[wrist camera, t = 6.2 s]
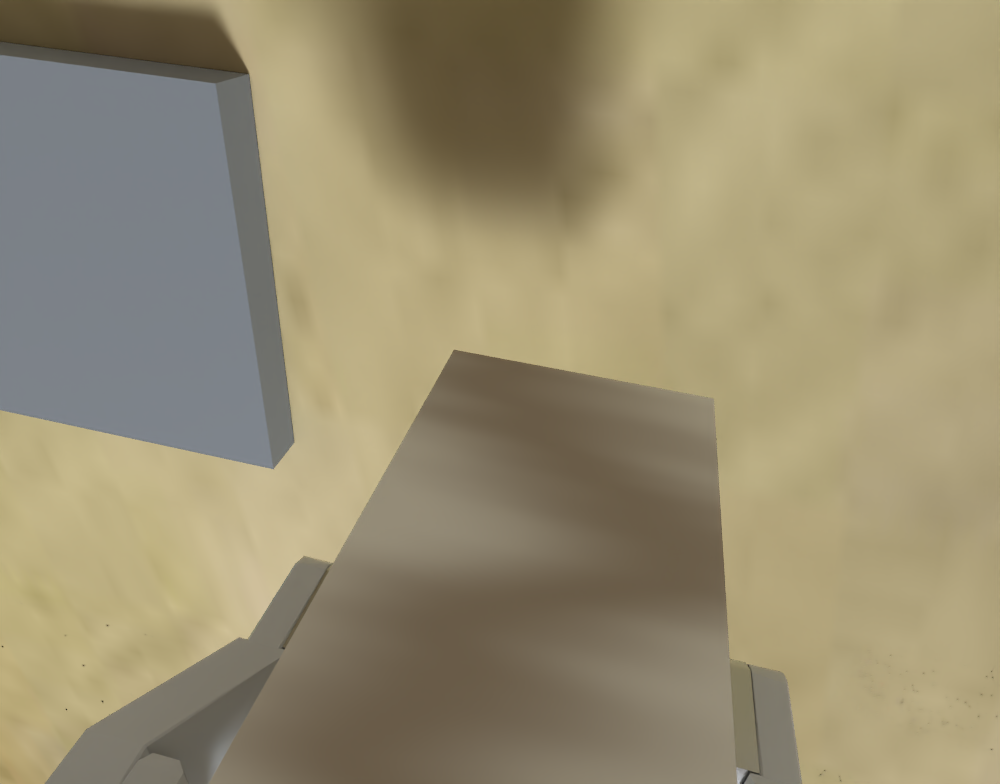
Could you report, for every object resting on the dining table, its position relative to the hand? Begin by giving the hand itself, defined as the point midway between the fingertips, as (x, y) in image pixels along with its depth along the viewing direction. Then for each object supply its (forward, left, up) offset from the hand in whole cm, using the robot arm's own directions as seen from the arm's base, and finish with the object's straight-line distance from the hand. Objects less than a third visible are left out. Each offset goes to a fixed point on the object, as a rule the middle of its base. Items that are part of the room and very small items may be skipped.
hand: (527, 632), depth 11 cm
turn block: (0, 0, -3) cm, 3 cm away
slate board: (+14, -12, -10) cm, 21 cm away
